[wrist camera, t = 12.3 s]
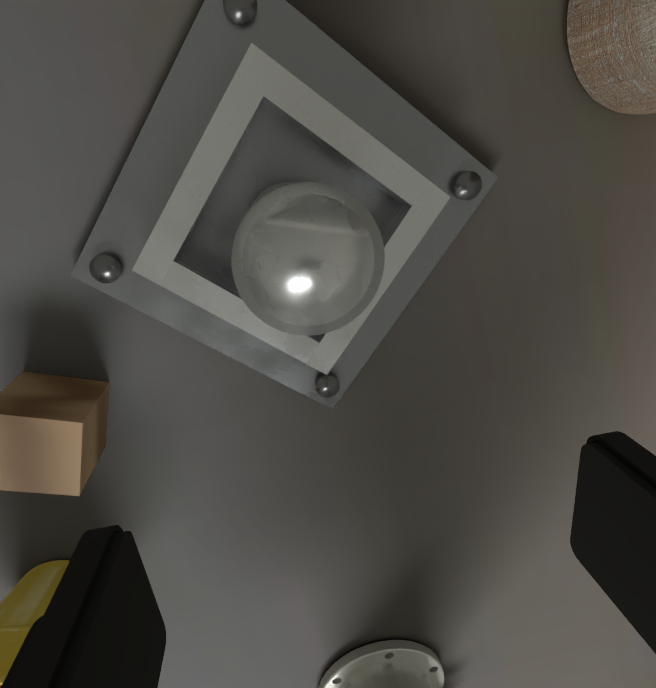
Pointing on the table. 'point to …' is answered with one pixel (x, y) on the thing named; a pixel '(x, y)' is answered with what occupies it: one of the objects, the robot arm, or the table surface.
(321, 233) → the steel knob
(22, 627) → the plant pot
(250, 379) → the table surface
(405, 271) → the square metal socket
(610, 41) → the planter
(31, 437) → the wooden cube
